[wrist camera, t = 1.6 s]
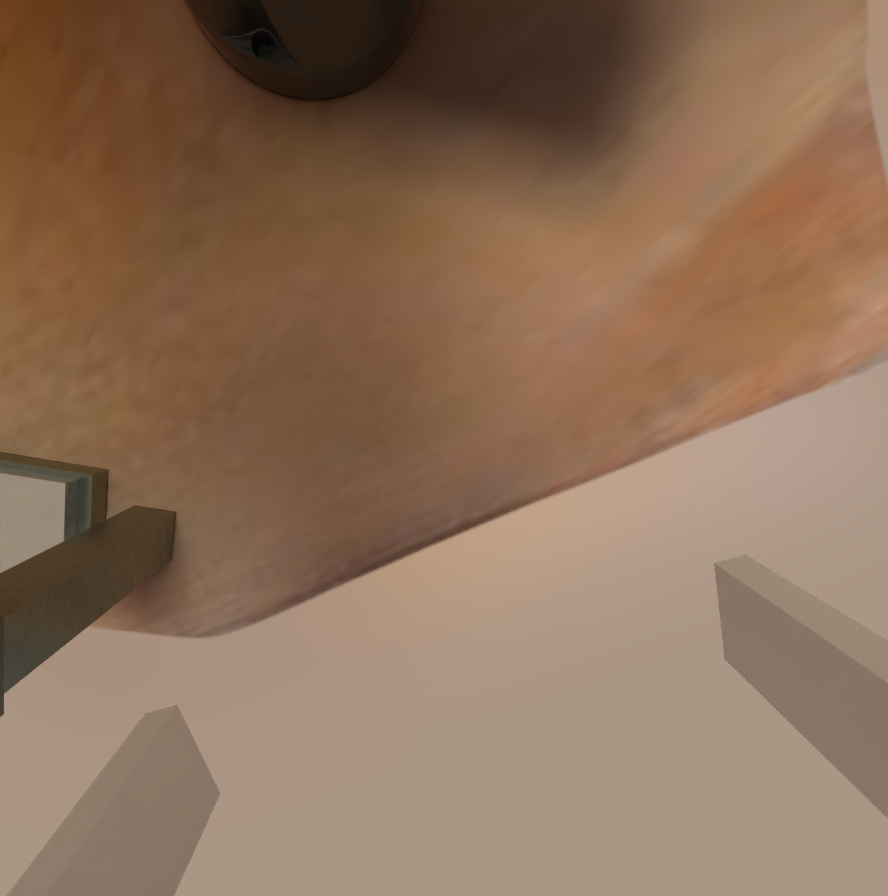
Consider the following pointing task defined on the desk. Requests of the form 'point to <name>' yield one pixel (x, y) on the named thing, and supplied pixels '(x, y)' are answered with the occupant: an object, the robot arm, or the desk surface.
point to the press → (65, 557)
